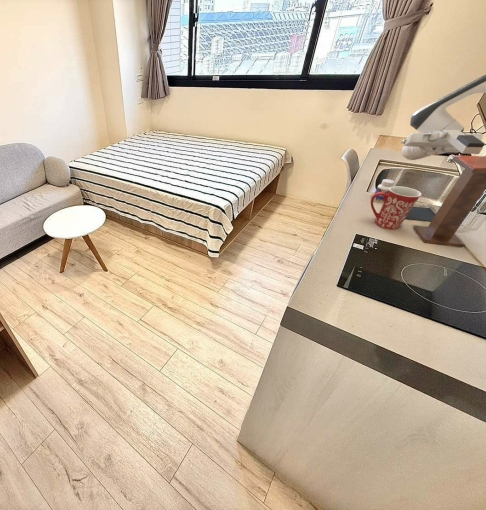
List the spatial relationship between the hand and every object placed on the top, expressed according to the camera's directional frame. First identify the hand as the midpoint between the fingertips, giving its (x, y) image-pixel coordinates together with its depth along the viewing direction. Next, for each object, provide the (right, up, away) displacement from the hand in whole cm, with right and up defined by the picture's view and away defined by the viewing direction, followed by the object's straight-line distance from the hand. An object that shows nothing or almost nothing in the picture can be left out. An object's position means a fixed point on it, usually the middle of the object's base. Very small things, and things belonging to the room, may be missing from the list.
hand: (454, 134), depth 95 cm
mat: (0, -25, +14) cm, 29 cm away
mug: (-17, -30, +10) cm, 36 cm away
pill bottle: (-6, -18, +25) cm, 31 cm away
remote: (-2, -4, -3) cm, 5 cm away
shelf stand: (-6, -35, 0) cm, 36 cm away
